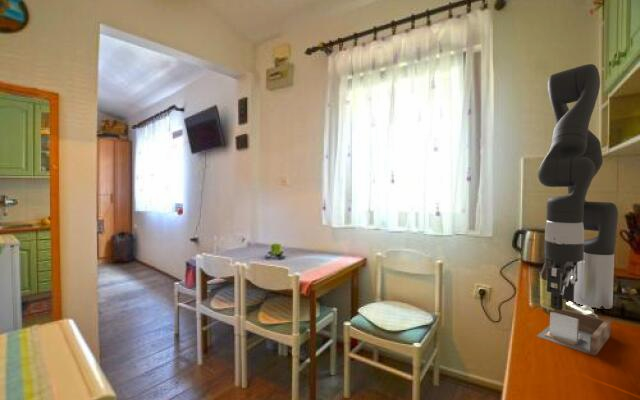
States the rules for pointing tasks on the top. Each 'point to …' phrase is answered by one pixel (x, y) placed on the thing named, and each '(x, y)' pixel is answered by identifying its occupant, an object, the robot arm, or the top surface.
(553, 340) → the grey base plate
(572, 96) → the robot arm
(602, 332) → the walnut corner walls
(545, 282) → the sauce bottle
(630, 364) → the top surface
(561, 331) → the aluminium bracket
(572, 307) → the pipe fitting
